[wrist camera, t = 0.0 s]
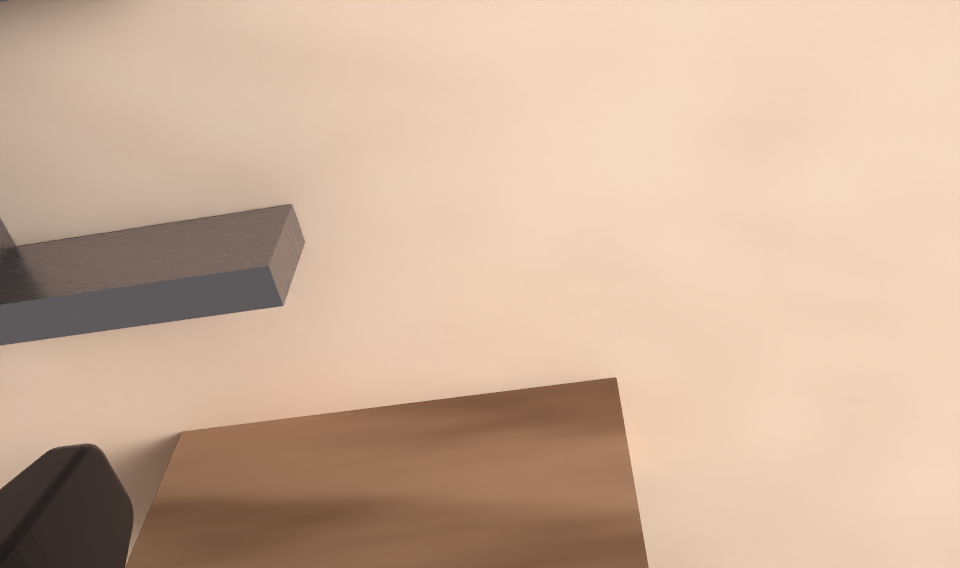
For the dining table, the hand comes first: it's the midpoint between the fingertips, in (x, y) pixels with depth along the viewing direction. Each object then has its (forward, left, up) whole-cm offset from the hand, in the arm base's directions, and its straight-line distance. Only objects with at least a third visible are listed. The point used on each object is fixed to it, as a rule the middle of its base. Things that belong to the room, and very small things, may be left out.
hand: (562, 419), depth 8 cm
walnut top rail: (-14, +6, -15) cm, 21 cm away
